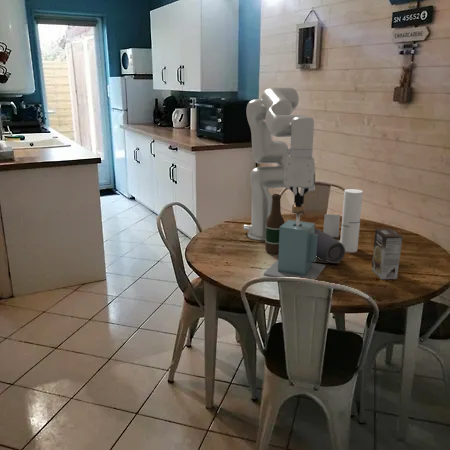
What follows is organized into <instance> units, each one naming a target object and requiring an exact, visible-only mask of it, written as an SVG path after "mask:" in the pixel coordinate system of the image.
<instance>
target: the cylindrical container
mask: <svg viewBox="0 0 450 450" xmlns="http://www.w3.org/2000/svg"><path fill="white" fill-rule="evenodd" d="M363 193H364V191H363V190H361V189H355V188H349V189H348V188H347V189H344V192H343V204H342V215H341V216H342V218H341V227H340V228H341V230H340V241H339V242H340V243H342V244H343V245H344V247H345V253H356V252H358V248H359V247H358V246H359V237H360V226H361V225H360V224H361V214H362V203H363Z"/></svg>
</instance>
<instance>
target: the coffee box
mask: <svg viewBox="0 0 450 450" xmlns="http://www.w3.org/2000/svg"><path fill="white" fill-rule="evenodd" d="M402 245H403V235H401V234H400V233H398V231H395V229H393V228H375V230H374V240H373V251H372V259H371V260H372V261H371V271H372V272H373V273H374V274H376V276H377V277H378V278H379V279H380V280H397V279H398V274H399V268H400V267H399V266H400V259H401V254H402V253H401V251H402Z"/></svg>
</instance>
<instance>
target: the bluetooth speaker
mask: <svg viewBox="0 0 450 450" xmlns="http://www.w3.org/2000/svg"><path fill="white" fill-rule="evenodd" d="M314 234H318V240H317V255H316V256H317V257H316V258H318V257H319V258H320V259H319V258H318V259H319V260H321V259H322V260H321V261H324V260H325V261H326V262H329V263H332V264H336V263H340V262H341V261H342V260H343V259H344V257H345V255H346V252H345V247H344V245H343V244H342V243H340V241H339V240H338V239H336V238H335V237H331V236H329V235H328V234H326V233H324V232H323V231H322V230H320V229H318V228H315V231H314Z"/></svg>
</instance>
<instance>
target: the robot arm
mask: <svg viewBox="0 0 450 450" xmlns="http://www.w3.org/2000/svg"><path fill="white" fill-rule="evenodd" d="M299 100H300V98H299V94H298V91H297V90H296V89H295V88H293V87H269V88H267V89H264V91H263V92H262V94H261V97H260V98H257V99H256V98H255V99H252V100H250V101H249V102H248V103H247V104H246V105H247V106H246V118H247V122H248V125H249V128H250V133H251V149H252V150H251V152H252V153H251V154H252V159H253V162H255V164H276V166H275V165H274V166H257V167H255V168H253V169H252V170H251V171H250V174H249V180H250V181H249V182H250V187H251V220H250V222H251V224H250V225H248V224H243V225H242V226H243V231H248V232H247V237H248V238H249V239H252V240H256V241H265V239H266V221H267V218H268V216H269V215H270V213H271V207H272V195H273V194H272V193H271V192H270V191H269V189H282V188H284V189H287V190H290V191H291V193H293V195H294V196H293V197H294V201H293V203H294V204H295V206H298V207H300V206H302V205H304V204H305V203H304V202H305V194H307V193H308V192H312V191H315V190H316V185H315V184H316V163H315V157H313V150H314V149H313V147H314V134H315V133H314V131H315V120H314V118H313V117H310V116H307V115H305V114H292V113H294V111H295V110H296V108H297V106H298V105H299ZM272 136H274V137H276V138H286V137H287V138H288V137H290V148H289V146H288V144H287V143H286V142H285V141H281V140H274V141H273V140H272Z"/></svg>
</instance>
